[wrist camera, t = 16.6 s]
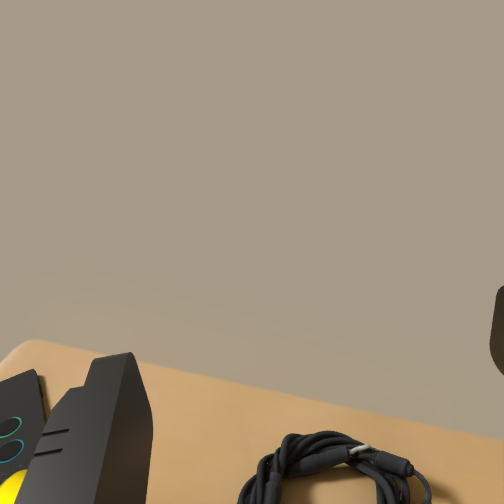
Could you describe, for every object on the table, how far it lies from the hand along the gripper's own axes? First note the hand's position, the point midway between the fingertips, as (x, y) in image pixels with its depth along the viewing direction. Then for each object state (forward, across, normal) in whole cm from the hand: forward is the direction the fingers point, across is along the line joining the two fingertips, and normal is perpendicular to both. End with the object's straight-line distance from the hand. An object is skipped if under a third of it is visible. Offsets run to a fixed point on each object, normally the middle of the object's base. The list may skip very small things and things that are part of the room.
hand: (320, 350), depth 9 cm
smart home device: (+32, +30, +31) cm, 54 cm away
